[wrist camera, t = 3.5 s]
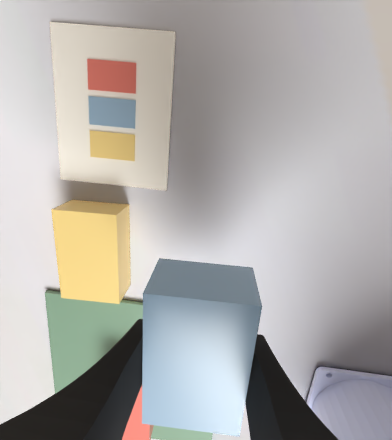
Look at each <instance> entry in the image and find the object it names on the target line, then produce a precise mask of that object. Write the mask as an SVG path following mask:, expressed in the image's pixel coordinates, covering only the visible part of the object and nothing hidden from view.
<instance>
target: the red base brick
mask: <svg viewBox="0 0 392 440" xmlns="http://www.w3.org/2000/svg"><path fill="white" fill-rule="evenodd" d="M153 426H154V425H149V424H142V385H141V388H140V391H139V393H138V396H137V399H136V401H135V404H134V407H133V409H132V412H131V415H130V418H129V420H128V423H127V426H126V428H125V432H124V435H123V438H122V440H150V439H151V435H152V431H153Z"/></svg>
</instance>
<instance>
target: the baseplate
mask: <svg viewBox="0 0 392 440" xmlns="http://www.w3.org/2000/svg"><path fill="white" fill-rule="evenodd" d="M45 299H46V308H47V318H48V328H49V338H50V347H51V357H52V367H53V377H54V387H55V394H56V393H57V392H59V391H60V390H62V389H63V388H64V387H66V386H67V385H69V384H70V383H71V382H73V381H74V380H76V379H77V378H78V377H79V376H81V375H82V374H83V373H85V372H86V371H87V370H88V369H89V368H91V367H92V366H93V365H94V364H95V363H96V362H97V361H99V360H100V359H101V358H102V357H103V356H104V355H105V354H106V353H107V352H108V351H109V350H110V349H111V348H112V347H113V346H114V345H115V344H116V343H117V342H118V341H119V340H120V339H121V338H122V337H123V336H124V335H125V334H126V333H127V332H128V330H129V329H130V328H131V327H132V326H133V325H134V323H135V322H136V321H137V320H138V319H143V302H137V301H129V300H121V302H120V304H114V303H104V302H95V301H85V300H76V299H66V298H61V292H59V291H52V290H47V291H46V292H45ZM212 434H213V433H209V432H201V431H194V430H186V429H179V428H171V427H164V426H156V425H154V426H153V431H152V435H151V438H153V439H160V440H212Z"/></svg>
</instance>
